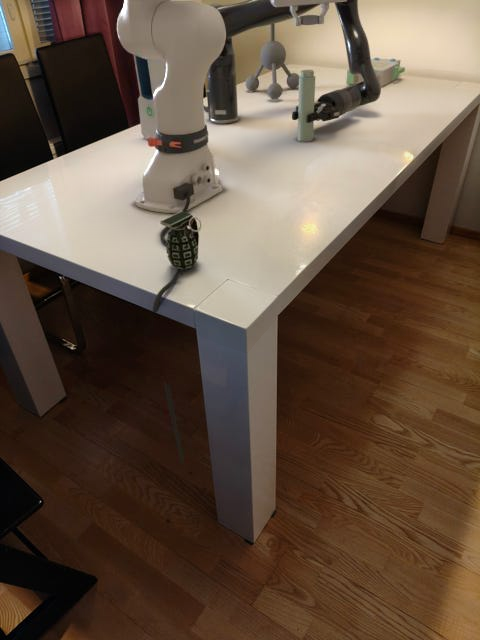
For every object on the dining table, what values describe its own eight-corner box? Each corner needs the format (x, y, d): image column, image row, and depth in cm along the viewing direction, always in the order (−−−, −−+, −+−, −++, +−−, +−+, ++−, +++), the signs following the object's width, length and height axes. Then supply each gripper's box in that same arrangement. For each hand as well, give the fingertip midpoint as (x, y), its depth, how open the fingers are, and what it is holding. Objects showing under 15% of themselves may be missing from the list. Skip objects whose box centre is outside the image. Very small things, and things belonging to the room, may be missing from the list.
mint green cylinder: (314, 140, 144) (318, 71, 133) (300, 142, 144) (302, 73, 132) (309, 136, 148) (312, 68, 137) (295, 137, 147) (297, 70, 136)
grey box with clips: (365, 55, 208) (411, 58, 198) (363, 72, 212) (408, 76, 202) (337, 67, 192) (386, 71, 182) (336, 85, 196) (383, 90, 186)
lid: (306, 22, 130) (306, 14, 129) (321, 22, 128) (322, 15, 126) (295, 24, 127) (295, 17, 126) (311, 25, 125) (311, 17, 124)
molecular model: (318, 92, 188) (323, -1, 170) (273, 103, 179) (272, 6, 161) (281, 82, 204) (281, -3, 186) (237, 91, 195) (233, 3, 176)
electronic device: (141, 137, 154) (123, 28, 136) (159, 131, 158) (144, 24, 140) (166, 145, 147) (151, 30, 129) (185, 138, 151) (172, 26, 133)
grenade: (182, 278, 88) (175, 228, 82) (162, 268, 91) (153, 219, 85) (208, 263, 92) (203, 214, 85) (187, 253, 95) (181, 205, 89)
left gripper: (273, -38, 115) (273, 29, 124) (355, -44, 118) (349, 23, 127) (266, -39, 120) (267, 26, 129) (345, -44, 123) (340, 20, 131)
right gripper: (316, 88, 151) (281, 100, 142) (355, 94, 143) (321, 107, 134) (315, 113, 156) (280, 126, 146) (353, 120, 148) (319, 135, 138)
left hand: (309, 24), depth 128 cm, fingers closed on lid, 5 cm apart
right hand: (300, 117), depth 140 cm, fingers closed on mint green cylinder, 4 cm apart
